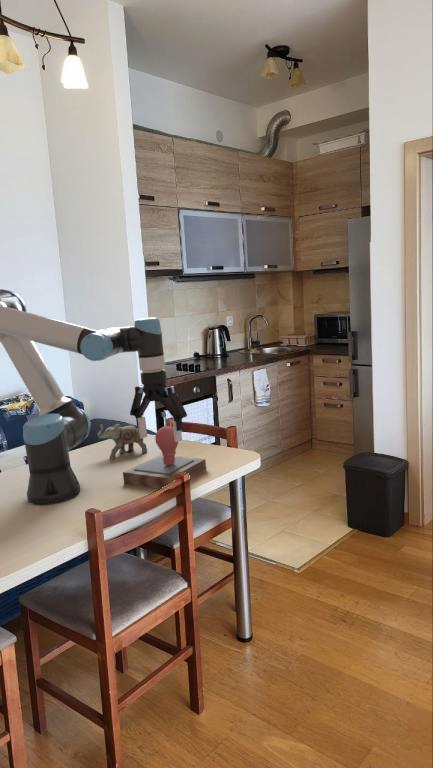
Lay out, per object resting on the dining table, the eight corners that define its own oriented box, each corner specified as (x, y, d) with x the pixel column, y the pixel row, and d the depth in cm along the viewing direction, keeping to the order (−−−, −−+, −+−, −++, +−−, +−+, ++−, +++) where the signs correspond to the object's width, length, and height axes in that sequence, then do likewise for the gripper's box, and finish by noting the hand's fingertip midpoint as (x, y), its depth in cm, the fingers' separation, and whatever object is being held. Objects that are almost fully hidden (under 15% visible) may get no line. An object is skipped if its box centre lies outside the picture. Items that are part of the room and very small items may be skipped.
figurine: (113, 461, 211) (99, 422, 210) (150, 449, 210) (136, 410, 209) (107, 467, 202) (92, 427, 200) (145, 454, 200) (131, 414, 199)
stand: (124, 483, 174) (122, 470, 173) (161, 465, 188) (160, 453, 188) (170, 490, 164) (169, 476, 163) (206, 470, 178) (205, 457, 178)
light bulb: (183, 460, 177) (179, 422, 175) (180, 467, 170) (175, 428, 168) (161, 462, 178) (156, 424, 176) (156, 469, 171) (151, 430, 169)
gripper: (194, 368, 167) (201, 438, 170) (130, 367, 181) (137, 433, 184) (178, 372, 161) (186, 446, 164) (113, 372, 174) (121, 439, 178)
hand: (160, 439), depth 174 cm, fingers open, 13 cm apart
